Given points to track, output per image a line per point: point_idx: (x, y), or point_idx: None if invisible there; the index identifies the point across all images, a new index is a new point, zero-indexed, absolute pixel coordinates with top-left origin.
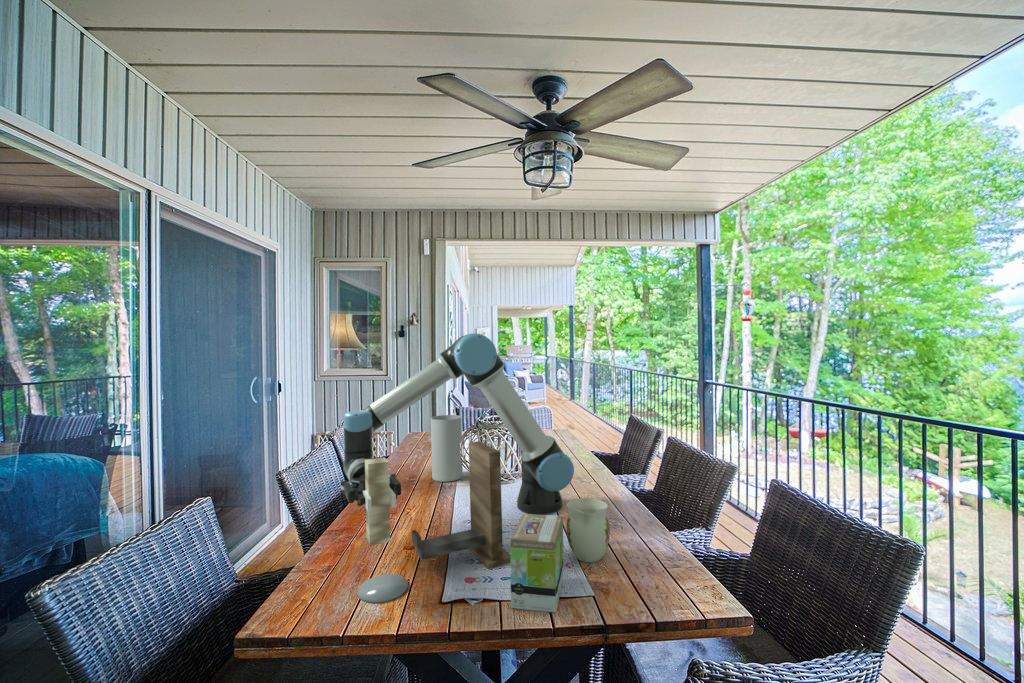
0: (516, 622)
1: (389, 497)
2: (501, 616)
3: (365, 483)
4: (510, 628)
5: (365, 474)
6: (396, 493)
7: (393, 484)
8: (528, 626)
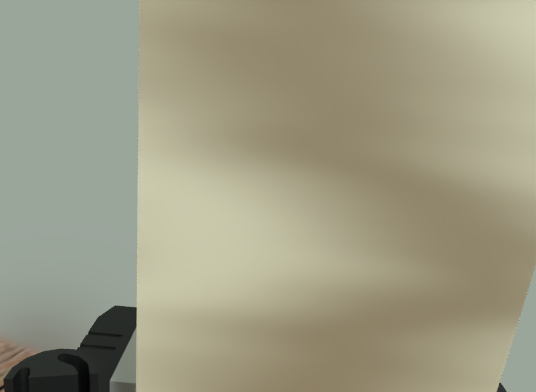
0: (4, 357)
1: None
2: (3, 385)
3: (484, 377)
4: (33, 351)
5: (517, 221)
6: (118, 312)
7: (36, 373)
8: (2, 339)
